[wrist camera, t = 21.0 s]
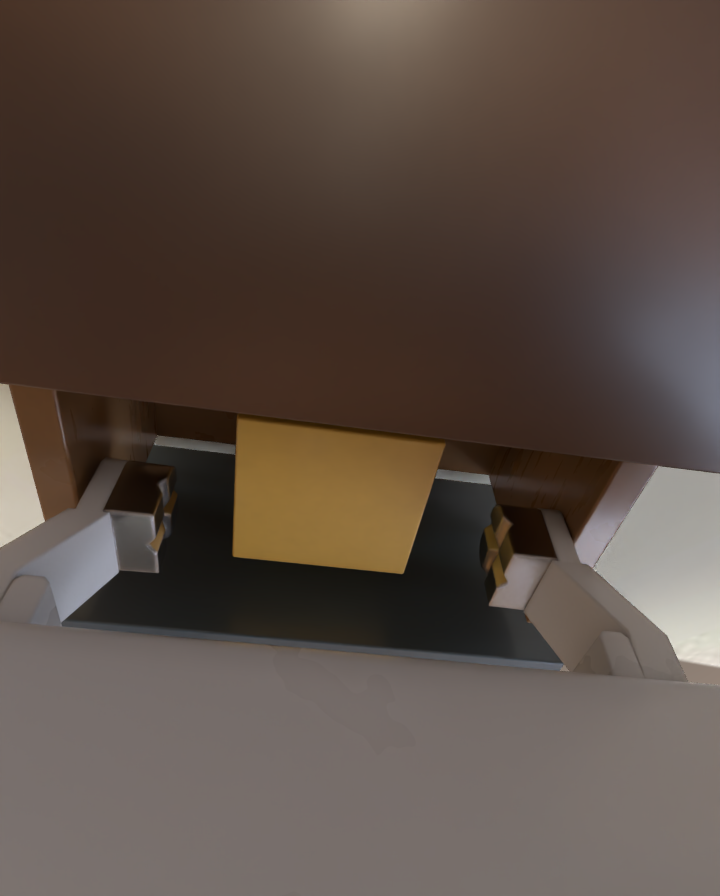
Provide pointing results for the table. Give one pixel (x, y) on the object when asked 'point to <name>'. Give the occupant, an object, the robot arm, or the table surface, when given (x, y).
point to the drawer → (312, 586)
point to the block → (329, 493)
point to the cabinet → (372, 215)
